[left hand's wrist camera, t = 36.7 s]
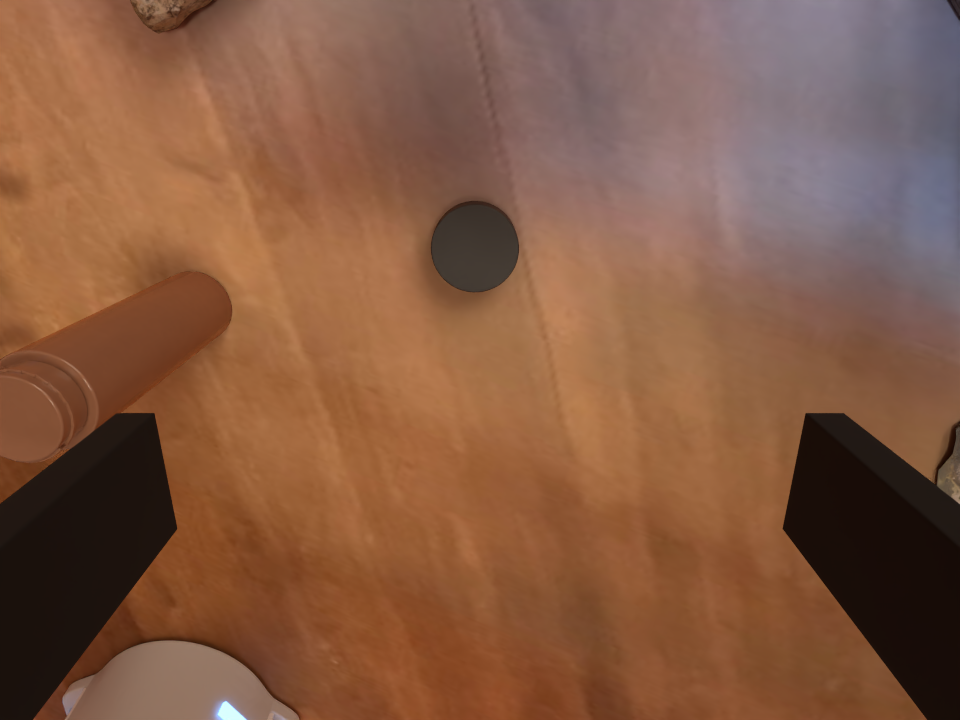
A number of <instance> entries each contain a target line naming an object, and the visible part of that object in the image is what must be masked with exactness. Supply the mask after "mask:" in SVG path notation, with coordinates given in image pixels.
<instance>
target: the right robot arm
mask: <svg viewBox="0 0 960 720" xmlns="http://www.w3.org/2000/svg"><path fill="white" fill-rule="evenodd" d="M62 702H63V706H64V709H65V712H66V715H67V717H66V719H65V720H300V719H299V717H298V715H297V714H296V713H295V712H294V711H293V710H291V709H290V708H289V707H287V706H286V705H284V704H282V703H281V702H279V701H278V700H276V699H274V698H273V697H272V696H271V695H270V693H269V692H268V691H267V690H266V688H265V687H264V686H263V684H262V683H261V682H260V680H259V679H258V678H257V677H256V676H255V675H254V674H253V673H252V672H251V671H250V670H249V669H248V668H247V667H246V666H244V665H243V664H242V663H240V662H239V661H237V660H236V659H234V658H233V657H231V656H229V655H227V654H225V653H223V652H221V651H219V650H216V649H214V648H211V647H208V646H204V645H201V644H197V643H192V642H186V641H174V640H164V641H153V642H147V643H143V644H139V645H136V646H133V647H131V648H129V649H127V650H125V651H123V652H121V653H119V654H118V655H116V656H115V657H114V658H113V659H111V660H110V661H109V662H108V663H107V664H106V665H105V666H104V668H103V669H101V670H100V671H99V672H98V673H96V674H95V675H92V676H89V677H86V678H83V679H80V680H78V681H76V682H74V683H72V684H71V685H70V686H69V687H68V689H67V691H66V693H65V694H64V696H63V699H62Z"/></svg>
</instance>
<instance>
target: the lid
mask: <svg viewBox="0 0 960 720" xmlns="http://www.w3.org/2000/svg"><path fill="white" fill-rule="evenodd" d="M518 253H519V244H518V238H517V234H516V231H515V229H514V226H513V224H512V222H511V221H510V219H509V218H508V217H507V215H506V214H505V213H504V212H503V211H501V210H500V209H499V208H497V207H496V206H494V205H492V204H489V203H486V202H481V201H470V202H464V203H461V204H459V205H456V206H455V207H453V208H451V209H450V210H449V211H448V212H446V213H445V214H444V216H443V217H442V218H441V219H440V221H439V223H438V225H437V227H436V229H435V231H434V234H433V237H432V242H431V254H432V259H433V262H434V265H435V267H436V269H437V271H438V273H439V274H440V275H441V277H442V278H443V279H444V280H445V281H446V282H448V283H449V284H450V285H452V286H454V287H455V288H457V289H460V290H463V291H467V292H483V291H487V290H490V289H493V288H495V287H497V286H498V285H500V284H501V283H502V282H504V281H505V280H506V279H507V278H508V277H509V275H510V274H511V273H512V271H513V269H514V267H515V265H516V263H517V259H518Z"/></svg>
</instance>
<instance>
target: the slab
mask: <svg viewBox="0 0 960 720" xmlns="http://www.w3.org/2000/svg"><path fill="white" fill-rule="evenodd" d="M955 429H956V442H955V446H954V450H953V454H952V455H951V456H950V458H949V459H948V460H947V461H946V462H945V464H944V465H943V466H942V467H941V468H940V469H939V470H938V480H937V487H939V488H940V489H941V490H943V491H944V492H945V493H946V494H948V495H949V496H950V497H951V498H953V499H954V500H955V501H957V502H958V503H959V504H960V425H959V426H958V427H956V428H955Z"/></svg>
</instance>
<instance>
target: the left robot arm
mask: <svg viewBox="0 0 960 720" xmlns="http://www.w3.org/2000/svg"><path fill="white" fill-rule="evenodd" d="M951 2H952V4H953V6H954V8H955V9H956V11H957V12H958V14H959V16H960V0H951ZM176 530H177V525H176V520H175V515H174V510H173V505H172V500H171V495H170V490H169V485H168V480H167V475H166V470H165V465H164V459H163V454H162V449H161V444H160V439H159V434H158V429H157V424H156V419H155V414H154V413H116V414H115V415H113V416H112V417H111V418H110V419H108V420H107V421H106V422H104V423H103V424H102V425H101V426H99V427H98V428H97V429H96V430H94V431H93V432H92V433H90V434H89V435H88V436H87V437H85V438H84V439H83V440H81V441H80V442H79V443H78V444H76V445H75V446H74V447H72V448H71V449H70V450H69V451H67V452H66V453H65V454H64V455H62V456H61V457H60V458H58V459H57V460H56V461H55V462H53V463H52V464H51V465H49V466H48V467H47V468H46V469H44V470H43V471H42V472H41V473H39V474H38V475H37V476H35V477H34V478H33V479H32V480H30V481H29V482H28V483H26V484H25V485H24V486H23V487H21V488H20V489H19V490H17V491H16V492H15V493H14V494H12V495H11V496H10V497H9V498H7V499H6V500H5V501H3V502H2V503H1V504H0V720H33V719H34V717H35V716H36V715H37V713H38V712H39V711H40V709H41V708H42V707H43V705H44V704H45V703H46V702H47V700H48V699H49V698H50V696H51V695H52V694H53V692H54V691H55V690H56V688H57V687H58V686H59V684H60V683H61V682H62V680H63V679H64V678H65V676H66V675H67V674H68V672H69V671H70V670H71V669H72V667H73V666H74V665H75V663H76V662H77V661H78V659H79V658H80V657H81V655H82V654H83V653H84V651H85V650H86V649H87V647H88V646H89V645H90V643H91V642H92V641H93V639H94V638H95V637H96V635H97V634H98V633H99V632H100V630H101V629H102V628H103V626H104V625H105V624H106V622H107V621H108V620H109V618H110V617H111V616H112V614H113V613H114V612H115V610H116V609H117V608H118V606H119V605H120V604H121V602H122V601H123V600H124V599H125V597H126V596H127V595H128V593H129V592H130V591H131V589H132V588H133V587H134V585H135V584H136V583H137V581H138V580H139V579H140V577H141V576H142V575H143V573H144V572H145V571H146V569H147V568H148V567H149V566H150V564H151V563H152V562H153V560H154V559H155V558H156V556H157V555H158V554H159V552H160V551H161V550H162V548H163V547H164V546H165V544H166V543H167V542H168V540H169V539H170V538H171V536H172V535H173V534H174V532H175V531H176ZM783 530H784V531H785V532H786V534H787V535H788V536H789V538H790V539H791V540H792V542H793V543H794V544H795V546H796V547H797V548H798V550H799V551H800V552H801V554H802V555H803V556H804V558H805V559H806V560H807V562H808V563H809V564H810V566H811V567H812V568H813V569H814V571H815V572H816V573H817V575H818V576H819V577H820V579H821V580H822V581H823V583H824V584H825V585H826V587H827V588H828V589H829V591H830V592H831V593H832V595H833V596H834V597H835V599H836V600H837V601H838V602H839V604H840V605H841V606H842V608H843V609H844V610H845V612H846V613H847V614H848V616H849V617H850V618H851V620H852V621H853V622H854V624H855V625H856V626H857V628H858V629H859V630H860V632H861V633H862V634H863V635H864V637H865V638H866V639H867V641H868V642H869V643H870V645H871V646H872V647H873V649H874V650H875V651H876V653H877V654H878V655H879V657H880V658H881V659H882V661H883V662H884V663H885V665H886V666H887V667H888V669H889V670H890V671H891V672H892V674H893V675H894V676H895V678H896V679H897V680H898V682H899V683H900V684H901V686H902V687H903V688H904V690H905V691H906V692H907V694H908V695H909V696H910V698H911V699H912V700H913V702H914V703H915V704H916V705H917V707H918V708H919V709H920V711H921V712H922V713H923V715H924V716H925V717H926V719H927V720H960V504H959V503H958V502H957V501H955V500H954V499H953V498H951V497H950V496H949V495H948V494H946V493H945V492H944V491H943V490H941V489H940V488H939V487H937V486H936V485H935V484H934V483H932V482H931V481H930V480H928V479H927V478H926V477H925V476H923V475H922V474H921V473H919V472H918V471H917V470H916V469H914V468H913V467H912V466H911V465H909V464H908V463H907V462H905V461H904V460H903V459H902V458H900V457H899V456H898V455H896V454H895V453H894V452H893V451H891V450H890V449H889V448H887V447H886V446H885V445H884V444H882V443H881V442H880V441H879V440H877V439H876V438H875V437H873V436H872V435H871V434H870V433H868V432H867V431H866V430H864V429H863V428H862V427H861V426H859V425H858V424H857V423H856V422H854V421H853V420H852V419H850V418H849V417H848V416H847V415H845V414H844V413H806V414H805V419H804V424H803V429H802V434H801V439H800V444H799V449H798V454H797V459H796V465H795V470H794V475H793V480H792V485H791V490H790V495H789V500H788V505H787V510H786V515H785V520H784V525H783Z"/></svg>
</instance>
